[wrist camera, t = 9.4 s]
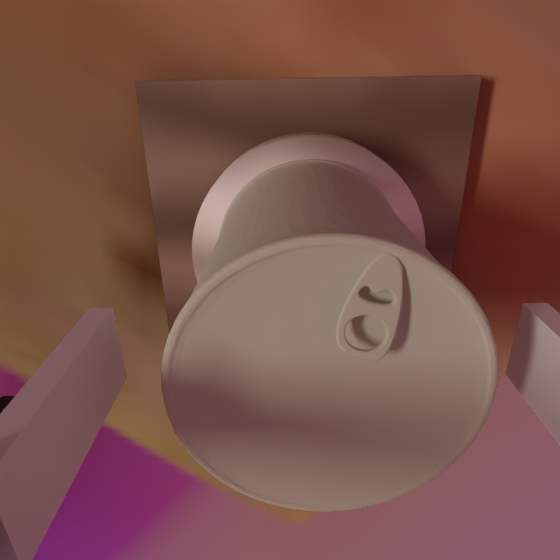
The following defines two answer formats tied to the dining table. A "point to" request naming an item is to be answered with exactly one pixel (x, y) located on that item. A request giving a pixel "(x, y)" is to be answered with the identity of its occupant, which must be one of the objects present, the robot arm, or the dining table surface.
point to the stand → (301, 153)
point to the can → (326, 348)
